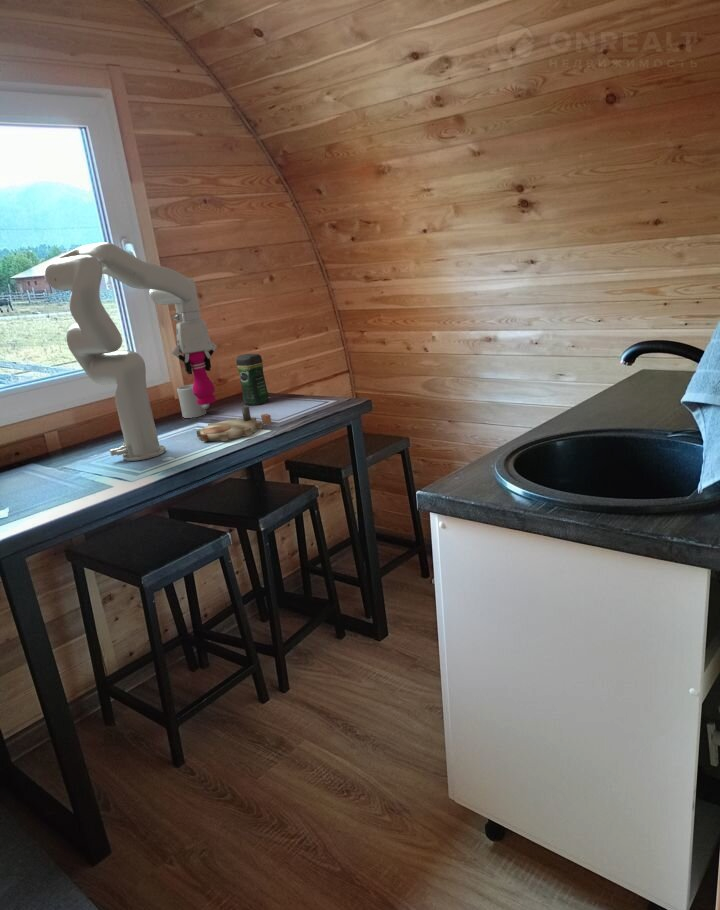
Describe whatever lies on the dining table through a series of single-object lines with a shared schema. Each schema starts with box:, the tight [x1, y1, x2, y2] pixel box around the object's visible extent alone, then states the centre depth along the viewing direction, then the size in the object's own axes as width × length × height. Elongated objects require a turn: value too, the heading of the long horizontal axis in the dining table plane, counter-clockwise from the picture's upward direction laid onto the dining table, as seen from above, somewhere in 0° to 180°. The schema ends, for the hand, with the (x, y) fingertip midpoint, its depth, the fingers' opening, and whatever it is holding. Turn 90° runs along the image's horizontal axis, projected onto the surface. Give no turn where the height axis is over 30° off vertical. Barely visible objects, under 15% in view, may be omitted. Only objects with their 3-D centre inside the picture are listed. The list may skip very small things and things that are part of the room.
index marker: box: [260, 413, 273, 426], centre depth 233 cm, size 2×3×3 cm, turn 32°
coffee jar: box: [235, 353, 270, 406], centre depth 266 cm, size 10×8×19 cm
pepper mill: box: [189, 351, 217, 405], centre depth 239 cm, size 7×7×20 cm
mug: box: [176, 383, 211, 419], centre depth 259 cm, size 12×8×11 cm
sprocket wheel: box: [195, 406, 263, 442], centre depth 226 cm, size 20×20×6 cm
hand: (198, 371), depth 238 cm, fingers closed on pepper mill, 5 cm apart
